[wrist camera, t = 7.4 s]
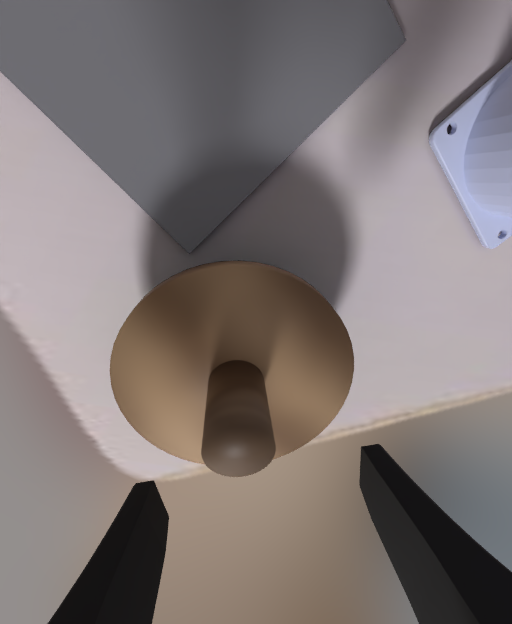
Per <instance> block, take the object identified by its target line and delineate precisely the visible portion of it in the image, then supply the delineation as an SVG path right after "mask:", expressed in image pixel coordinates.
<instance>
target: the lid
mask: <svg viewBox="0 0 512 624" xmlns="http://www.w3.org/2000/svg"><path fill="white" fill-rule="evenodd" d="M353 372H354V355H353V349H352V343H351V340H350V337H349V334H348V331H347V329H346V327H345V326H344V324H343V322H342V320H341V318H340V317H339V315H338V314H337V313H336V311H335V310H334V309H333V307H332V306H331V305H330V304H329V302H328V301H327V300H326V299H325V298H324V297H323V296H322V295H321V294H320V293H319V292H318V291H317V290H316V289H315V288H314V287H313V286H311V285H310V284H308V283H307V282H306V281H304V280H303V279H301V278H299V277H297V276H296V275H294V274H292V273H290V272H288V271H285V270H282V269H280V268H277V267H274V266H271V265H266V264H262V263H257V262H248V261H220V262H214V263H208V264H203V265H199V266H196V267H193V268H190V269H186V270H184V271H182V272H180V273H178V274H176V275H173V276H171V277H170V278H168V279H166V280H165V281H163V282H162V283H160V284H159V285H157V286H156V287H155V288H154V289H152V290H151V291H150V292H149V293H148V294H147V295H145V296H144V298H143V299H142V300H141V301H140V302H139V303H138V304H137V306H136V307H135V308H134V309H133V311H132V312H131V313H130V315H129V316H128V318H127V319H126V321H125V322H124V324H123V326H122V327H121V329H120V331H119V333H118V335H117V338H116V340H115V343H114V346H113V350H112V354H111V360H110V378H111V386H112V390H113V393H114V397H115V399H116V402H117V404H118V406H119V408H120V410H121V412H122V413H123V415H124V416H125V418H126V419H127V421H128V422H129V423H130V424H131V426H132V427H133V428H134V429H135V430H136V431H137V432H138V433H139V434H140V435H141V436H142V437H144V438H145V439H146V440H147V441H149V442H150V443H152V444H153V445H154V446H156V447H157V448H159V449H161V450H163V451H165V452H167V453H169V454H171V455H174V456H176V457H179V458H181V459H184V460H188V461H191V462H195V463H200V464H205V465H206V466H207V467H208V468H209V469H211V470H212V471H214V472H216V473H218V474H221V475H224V476H230V477H242V476H247V475H251V474H254V473H256V472H258V471H260V470H262V469H264V468H265V467H266V466H267V465H268V464H269V463H270V462H271V461H272V459H275V458H278V457H281V456H283V455H286V454H288V453H290V452H292V451H294V450H296V449H298V448H300V447H302V446H303V445H305V444H306V443H308V442H309V441H311V440H312V439H313V438H315V437H316V436H317V435H319V434H320V433H321V432H322V431H323V430H324V429H325V428H326V427H327V426H328V425H329V424H330V423H331V421H332V420H333V419H334V418H335V417H336V415H337V414H338V412H339V411H340V409H341V407H342V406H343V404H344V402H345V400H346V398H347V395H348V393H349V390H350V387H351V383H352V378H353Z"/></svg>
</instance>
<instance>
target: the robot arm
mask: <svg viewBox="0 0 512 624" xmlns="http://www.w3.org/2000/svg"><path fill="white" fill-rule="evenodd" d="M449 124H450V125H451V127H452V129H451V132H450V134H448V133H447V127H448V125H449ZM429 143H430V146H431V148H432V150H433V152H434V154H435V155H436V157H437V159H438V161H439V163H440V165H441V167H442V169H443V171H444V173H445V175H446V177H447V178H448V180H449V182H450V184H451V186H452V188H453V190H454V192H455V194H456V196H457V198H458V200H459V202H460V203H461V205H462V207H463V209H464V211H465V213H466V215H467V217H468V219H469V221H470V223H471V225H472V227H473V228H474V230H475V232H476V234H477V236H478V238H479V240H480V242H481V244H482V245H483V246H484V247H486V248H490V249H492V248H495V247H497V246H498V245H500V244H501V243H502V242H504V241H505V240H506V239H508V238H509V237H510V236H512V60H511V61H510V62H509V63H508V64H507V65H506V66H504V67H503V68H502V69H501V70H500V71H499V72H498V73H497V74H495V75H494V76H493V77H492V78H491V79H490V80H489V81H487V82H486V83H485V84H484V85H483V86H482V87H481V88H480V89H478V90H477V91H476V92H475V93H474V94H473V95H472V96H471V97H469V98H468V99H467V100H466V101H465V102H464V103H463V104H461V105H460V106H459V107H458V108H457V109H456V110H455V111H454V112H452V113H451V114H450V115H449V116H448V117H447V118H446V119H444V120H443V121H442V122H441V123H440V124H439V125H438V126H437V127H435V128H434V129H433V131H432V132H431V134H430V136H429ZM500 231H501V234H500V235H499V237H498V234H499V232H500ZM360 488H361V491H362V494H363V497H364V499H365V502H366V505H367V508H368V511H369V513H370V516H371V519H372V521H373V523H374V525H375V527H376V530H377V532H378V534H379V536H380V539H381V541H382V543H383V545H384V547H385V549H386V552H387V553H388V556H389V558H390V560H391V562H392V564H393V567H394V569H395V571H396V573H397V575H398V577H399V580H400V582H401V584H402V586H403V588H404V590H405V592H406V595H407V597H408V599H409V601H410V603H411V606H412V608H413V610H414V613H415V615H416V617H417V620H418V622H419V624H512V572H511V571H510V570H509V569H507V568H506V567H505V566H504V565H503V564H501V563H500V562H499V561H498V560H497V559H495V558H494V557H493V556H492V555H491V554H490V553H488V552H487V551H486V550H485V549H484V548H483V547H482V546H481V545H479V544H478V543H477V542H476V541H475V540H474V539H473V538H472V537H471V536H470V535H468V534H467V533H466V532H465V531H464V530H463V529H462V528H461V527H460V526H459V525H458V524H456V523H455V522H454V521H453V520H452V519H451V518H450V517H449V516H448V515H447V514H446V513H445V512H444V511H443V510H442V509H441V508H440V507H439V506H438V505H437V504H436V503H435V502H434V501H433V500H432V499H431V498H430V497H429V496H428V495H427V494H426V493H424V491H423V490H422V489H421V488H420V487H419V486H418V485H417V484H416V483H415V482H414V481H413V480H412V479H411V478H410V477H409V476H408V475H407V474H406V473H405V472H404V471H403V469H402V468H401V467H400V466H399V465H398V464H397V463H396V462H395V461H394V460H393V459H392V457H391V456H390V455H389V454H388V453H387V452H386V451H385V450H384V448H383V447H382V446H381V445H379V444H375V445H369V446H363V447H361V462H360ZM168 520H169V516H168V513H167V511H166V508H165V506H164V504H163V502H162V499H161V497H160V494H159V492H158V489H157V487H156V485H155V482H154V481H147V482H141V483H136V484H135V485H134V486H133V488H132V490H131V492H130V493H129V495H128V497H127V499H126V500H125V502H124V504H123V506H122V507H121V509H120V511H119V512H118V514H117V516H116V518H115V519H114V521H113V523H112V525H111V526H110V528H109V529H108V531H107V533H106V535H105V536H104V538H103V539H102V541H101V543H100V545H99V546H98V548H97V549H96V551H95V553H94V554H93V556H92V557H91V559H90V561H89V562H88V564H87V565H86V567H85V569H84V570H83V572H82V573H81V575H80V576H79V578H78V579H77V581H76V583H75V584H74V585H73V587H72V588H71V590H70V592H69V593H68V594H67V596H66V597H65V599H64V600H63V602H62V603H61V605H60V607H59V608H58V609H57V611H56V612H55V614H54V615H53V617H52V618H51V619H50V621H49V622H48V624H152V619H153V614H154V609H155V604H156V599H157V594H158V589H159V584H160V579H161V573H162V568H163V563H164V558H165V551H166V541H167V533H168Z"/></svg>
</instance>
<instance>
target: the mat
mask: <svg viewBox="0 0 512 624" xmlns="http://www.w3.org/2000/svg"><path fill="white" fill-rule="evenodd" d="M405 41H406V38H405V36H404V34H403V32H402V30H401V28H400V26H399V24H398V22H397V20H396V18H395V16H394V14H393V11H392V9H391V7H390V5H389V3H388V1H387V0H0V71H1V72H2V73H3V74H4V75H5V76H6V77H7V78H8V79H9V80H10V81H11V82H12V83H13V84H14V85H15V86H16V87H17V88H18V89H19V90H20V91H21V92H22V93H23V94H24V95H25V96H26V97H27V98H28V99H29V100H31V101H32V102H33V103H34V104H35V105H36V106H37V107H38V108H39V109H40V110H41V111H42V112H43V113H44V114H45V115H46V116H47V117H48V118H49V119H50V120H51V121H52V122H53V123H54V124H55V125H56V126H57V127H58V128H60V129H61V130H62V131H63V132H64V133H65V134H66V135H67V136H68V137H69V138H70V139H71V140H72V141H73V142H74V143H75V144H76V145H77V146H78V147H79V148H80V149H81V150H82V151H83V152H84V153H85V154H86V155H87V156H89V157H90V158H91V159H92V160H93V161H94V162H95V163H96V164H97V165H98V166H99V167H100V168H101V169H102V170H103V171H104V172H105V173H106V174H107V175H108V176H109V177H110V178H111V179H112V180H113V181H114V182H115V183H116V184H118V185H119V186H120V187H121V188H122V189H123V190H124V191H125V192H126V193H127V194H128V195H129V196H130V197H131V198H132V199H133V200H134V201H135V202H136V203H137V204H138V205H139V206H140V207H141V208H142V209H143V210H144V211H145V212H147V213H148V214H149V215H150V216H151V217H152V218H153V219H154V220H155V221H156V222H157V223H158V224H159V225H160V226H161V227H162V228H163V229H164V230H165V231H166V232H167V233H168V234H169V235H170V236H171V237H172V238H173V239H174V240H175V241H177V242H178V243H179V244H180V245H181V246H182V247H183V248H184V249H185V250H186V251H187V252H188V253H189V254H190V253H191V252H192V251H193V250H194V249H195V248H196V247H197V246H198V245H199V244H200V243H201V242H202V241H203V240H204V239H205V238H206V237H207V236H208V235H209V234H210V233H211V232H212V231H213V230H214V229H215V228H216V227H217V226H218V225H219V224H220V223H221V222H222V221H223V220H224V219H225V218H226V217H227V216H228V215H229V214H230V213H231V212H232V211H233V210H234V209H235V208H236V207H237V206H238V205H239V204H240V203H241V202H242V201H243V200H244V199H245V198H246V197H248V196H249V195H250V194H251V193H252V192H253V191H254V190H255V189H256V188H257V187H258V186H259V185H260V184H261V183H262V182H263V181H264V180H265V179H266V178H267V177H268V176H269V175H270V174H271V173H272V172H273V171H274V170H275V169H276V168H277V167H278V166H279V165H280V164H281V163H282V162H283V161H284V160H285V159H286V158H287V157H288V156H289V155H290V154H291V153H292V152H293V151H294V150H295V149H296V148H297V147H298V146H299V145H300V144H301V143H302V142H303V141H304V140H305V139H306V138H307V137H308V136H309V135H311V134H312V133H313V132H314V131H315V130H316V129H317V128H318V127H319V126H320V125H321V124H322V123H323V122H324V121H325V120H326V119H327V118H328V117H329V116H330V115H331V114H332V113H333V112H334V111H335V110H336V109H337V108H338V107H339V106H340V105H341V104H342V103H343V102H344V101H345V100H346V99H347V98H348V97H349V96H350V95H351V94H352V93H353V92H354V91H355V90H356V89H357V88H358V87H359V86H360V85H361V84H362V83H363V82H364V81H365V80H366V79H367V78H368V77H369V76H370V75H371V74H372V73H374V72H375V71H376V70H377V69H378V68H379V67H380V66H381V65H382V64H383V63H384V62H385V61H386V60H387V59H388V58H389V57H390V56H391V55H392V54H393V53H394V52H395V51H396V50H397V49H398V48H399V47H400V46H401V45H402V44H403V43H404V42H405Z"/></svg>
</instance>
